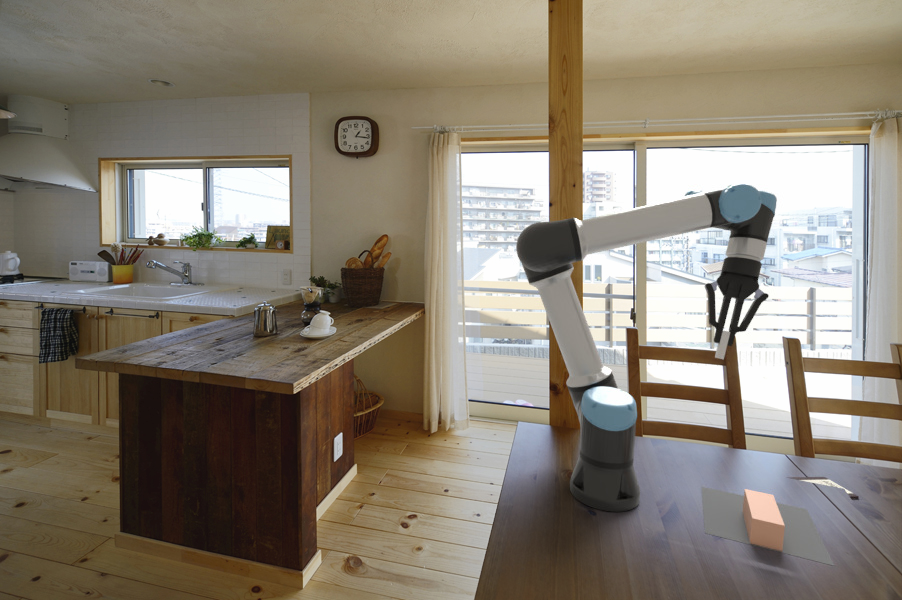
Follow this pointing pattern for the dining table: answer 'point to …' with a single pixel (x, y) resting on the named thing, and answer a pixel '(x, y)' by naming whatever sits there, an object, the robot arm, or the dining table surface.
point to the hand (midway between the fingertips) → (719, 358)
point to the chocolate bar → (824, 483)
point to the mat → (729, 523)
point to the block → (763, 520)
